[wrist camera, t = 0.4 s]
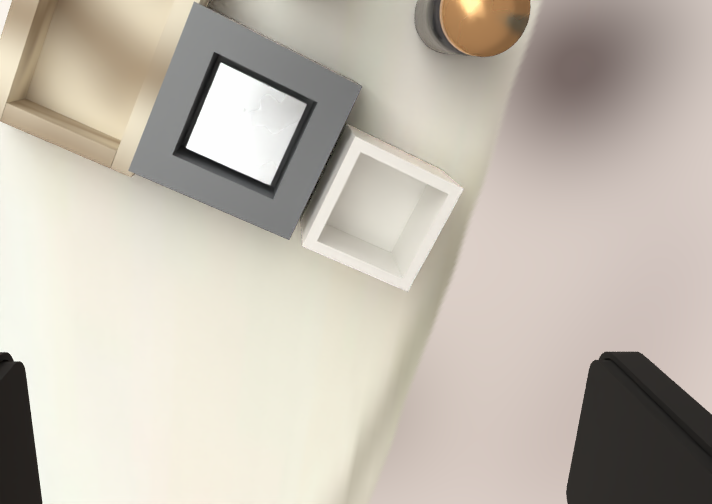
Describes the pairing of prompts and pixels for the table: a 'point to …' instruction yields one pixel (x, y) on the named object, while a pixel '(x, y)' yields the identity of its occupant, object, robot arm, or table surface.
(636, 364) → the robot arm
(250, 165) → the plate
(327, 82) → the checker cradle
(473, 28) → the black cell
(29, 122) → the trough
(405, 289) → the cup
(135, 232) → the table surface
